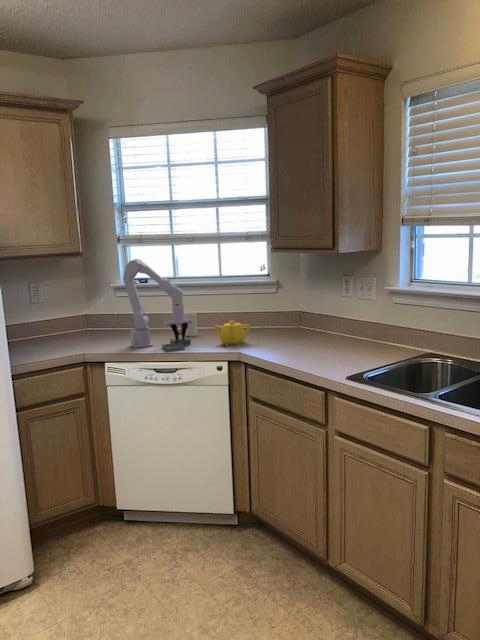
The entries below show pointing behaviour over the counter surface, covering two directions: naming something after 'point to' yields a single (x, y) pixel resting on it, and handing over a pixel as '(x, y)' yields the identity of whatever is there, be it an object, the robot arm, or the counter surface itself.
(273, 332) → the counter surface
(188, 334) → the mug
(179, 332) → the small bottle
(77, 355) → the counter surface
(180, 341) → the block
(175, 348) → the tray
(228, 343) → the teapot
